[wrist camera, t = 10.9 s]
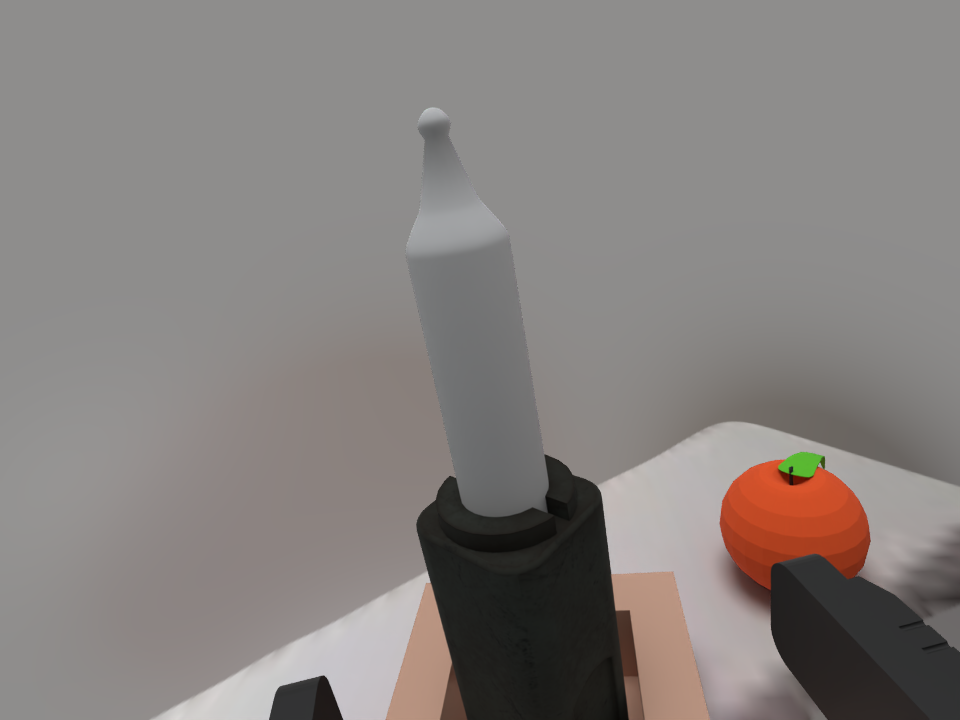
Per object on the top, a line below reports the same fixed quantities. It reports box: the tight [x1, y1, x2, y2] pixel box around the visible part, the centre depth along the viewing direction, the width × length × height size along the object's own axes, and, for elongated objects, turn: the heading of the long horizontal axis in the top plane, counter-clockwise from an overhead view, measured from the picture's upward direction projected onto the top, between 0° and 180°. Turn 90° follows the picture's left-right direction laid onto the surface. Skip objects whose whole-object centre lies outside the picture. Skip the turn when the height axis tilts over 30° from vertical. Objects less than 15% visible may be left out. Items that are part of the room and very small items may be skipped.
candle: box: [406, 108, 629, 720], centre depth 19 cm, size 5×5×25 cm
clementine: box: [720, 452, 871, 590], centre depth 30 cm, size 8×7×7 cm
